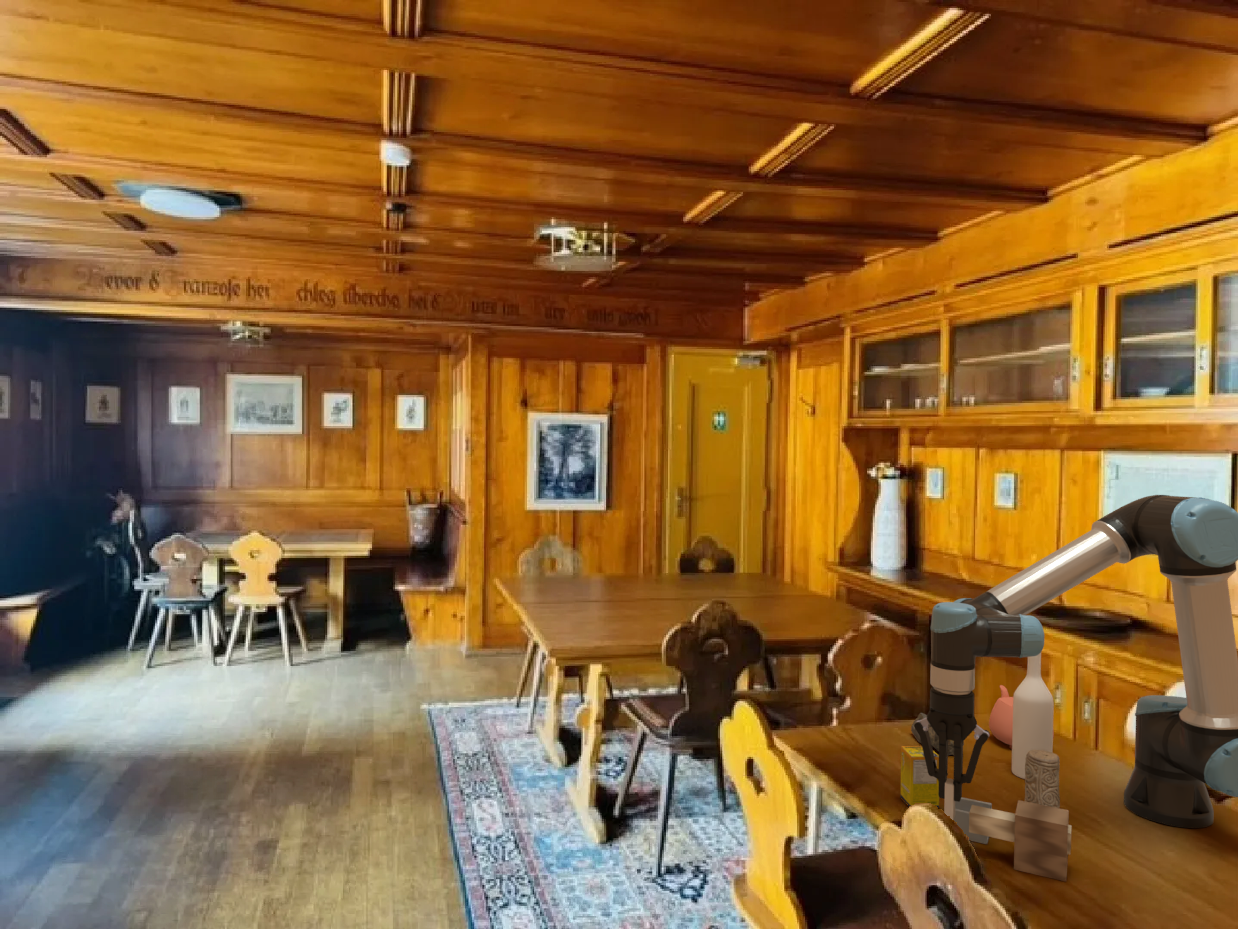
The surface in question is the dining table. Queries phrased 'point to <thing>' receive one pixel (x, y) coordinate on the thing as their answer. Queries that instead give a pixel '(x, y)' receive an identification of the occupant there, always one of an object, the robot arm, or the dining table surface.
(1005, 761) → the dining table surface
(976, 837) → the cradle
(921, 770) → the supplement box
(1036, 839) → the block
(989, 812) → the axle bar
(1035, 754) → the carving
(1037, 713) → the bottle
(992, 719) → the teapot
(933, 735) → the rock
